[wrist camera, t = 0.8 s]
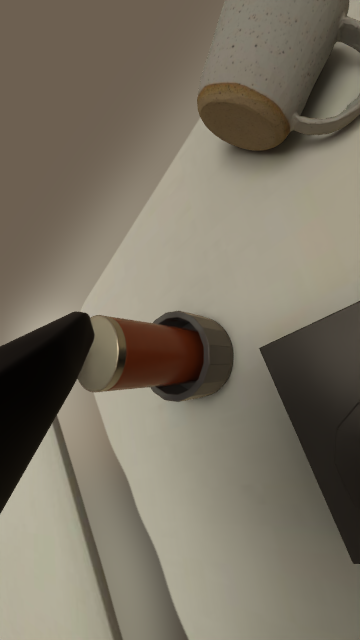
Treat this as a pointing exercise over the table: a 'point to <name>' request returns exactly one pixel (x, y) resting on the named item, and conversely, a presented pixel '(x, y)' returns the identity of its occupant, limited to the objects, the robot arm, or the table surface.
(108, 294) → the table surface
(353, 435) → the plate with ring holder
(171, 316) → the capsule holder
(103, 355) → the orange metal cylinder
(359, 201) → the table surface
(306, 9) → the ceramic mug
